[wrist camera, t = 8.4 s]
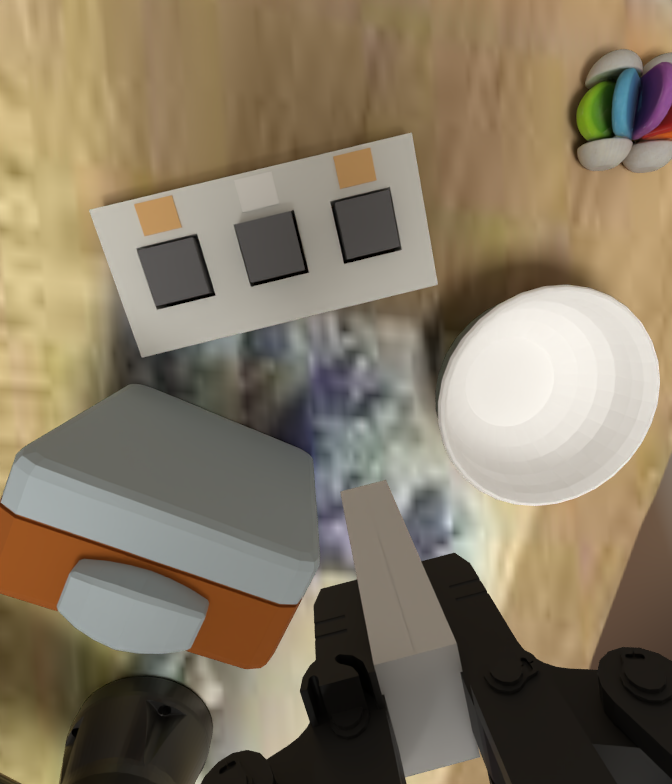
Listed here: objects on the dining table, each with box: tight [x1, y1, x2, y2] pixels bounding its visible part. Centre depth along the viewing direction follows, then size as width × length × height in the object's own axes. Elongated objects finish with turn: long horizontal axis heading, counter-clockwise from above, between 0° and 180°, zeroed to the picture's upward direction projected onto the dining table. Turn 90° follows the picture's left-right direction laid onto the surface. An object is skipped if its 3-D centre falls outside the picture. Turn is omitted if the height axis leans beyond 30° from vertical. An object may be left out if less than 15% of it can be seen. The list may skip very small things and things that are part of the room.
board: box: [89, 133, 438, 358], centre depth 37 cm, size 26×12×3 cm, turn 103°
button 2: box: [138, 237, 215, 306], centre depth 37 cm, size 4×4×3 cm
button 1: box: [332, 190, 400, 261], centre depth 37 cm, size 4×4×3 cm
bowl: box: [436, 285, 660, 506], centre depth 40 cm, size 19×19×8 cm
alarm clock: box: [0, 384, 320, 669], centre depth 33 cm, size 18×9×21 cm, turn 65°
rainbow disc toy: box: [576, 49, 672, 173], centre depth 35 cm, size 8×10×7 cm
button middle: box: [235, 211, 305, 282], centre depth 36 cm, size 4×4×3 cm
